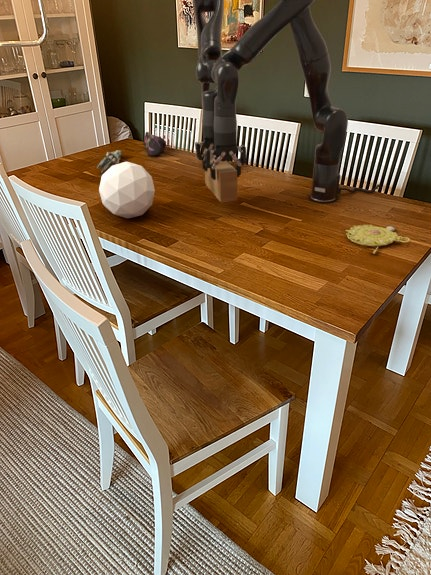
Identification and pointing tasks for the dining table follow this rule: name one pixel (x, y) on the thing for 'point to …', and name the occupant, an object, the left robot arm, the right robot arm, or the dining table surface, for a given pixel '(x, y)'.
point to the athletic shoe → (154, 144)
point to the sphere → (127, 190)
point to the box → (223, 181)
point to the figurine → (110, 160)
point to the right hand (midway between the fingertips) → (225, 177)
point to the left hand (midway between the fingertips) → (214, 169)
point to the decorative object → (374, 235)
